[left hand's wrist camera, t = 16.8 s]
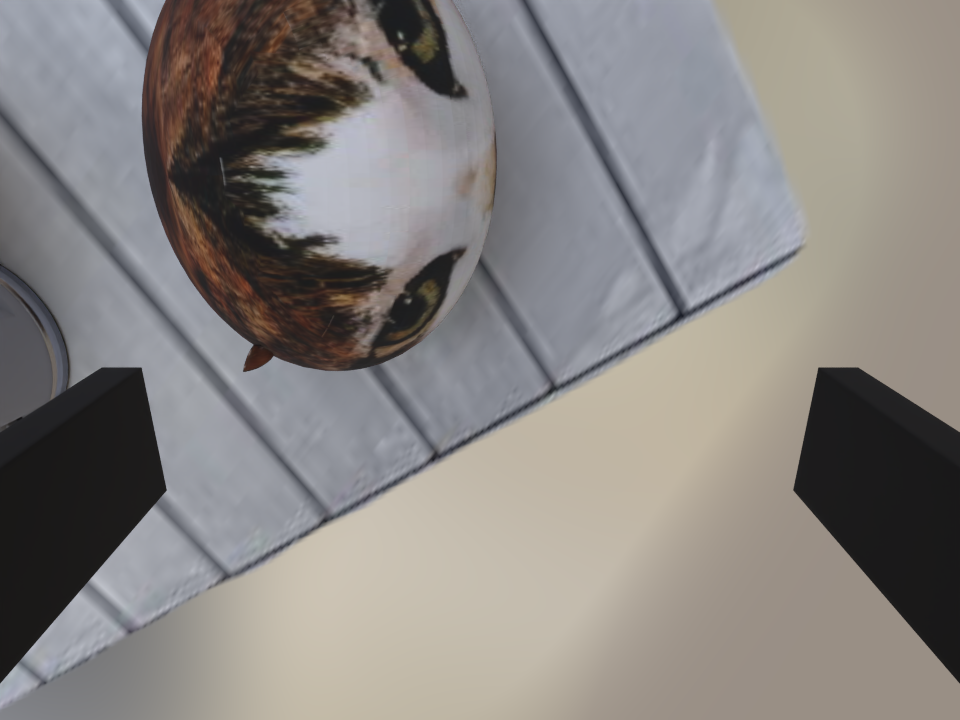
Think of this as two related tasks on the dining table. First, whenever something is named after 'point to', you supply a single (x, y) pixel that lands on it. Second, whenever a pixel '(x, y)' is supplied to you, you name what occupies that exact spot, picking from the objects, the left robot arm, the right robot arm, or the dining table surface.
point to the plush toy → (321, 168)
